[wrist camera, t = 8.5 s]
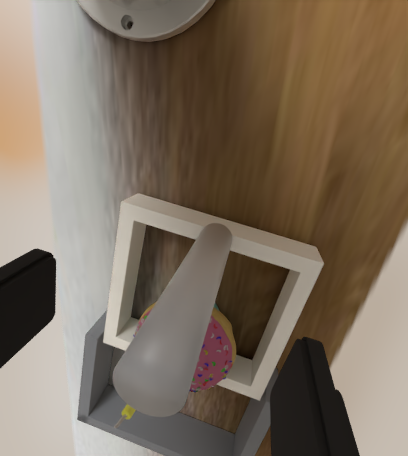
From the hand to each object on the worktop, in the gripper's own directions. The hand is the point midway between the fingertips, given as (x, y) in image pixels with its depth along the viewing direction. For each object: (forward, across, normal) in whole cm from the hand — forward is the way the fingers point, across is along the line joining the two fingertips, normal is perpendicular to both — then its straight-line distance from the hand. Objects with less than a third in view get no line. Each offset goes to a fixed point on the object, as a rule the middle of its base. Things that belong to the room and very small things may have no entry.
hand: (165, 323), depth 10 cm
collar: (+14, 0, +8) cm, 16 cm away
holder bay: (+13, 0, +20) cm, 24 cm away
